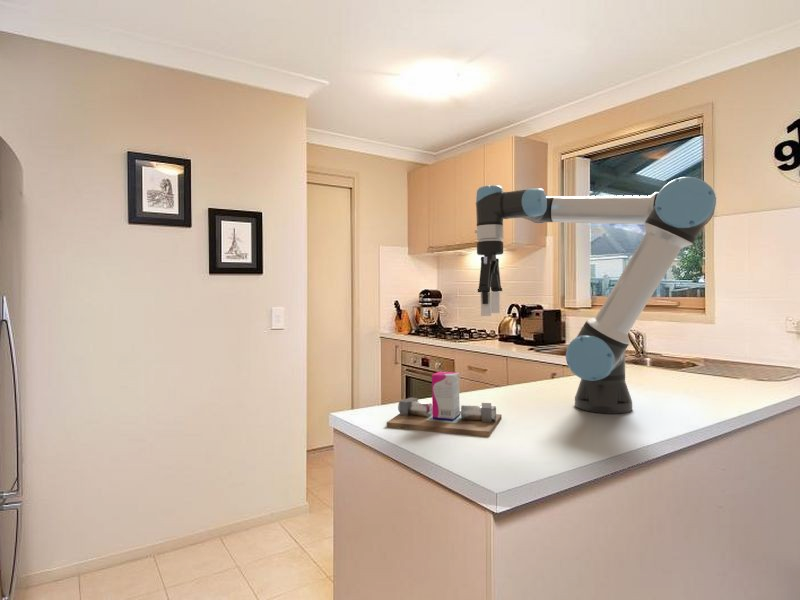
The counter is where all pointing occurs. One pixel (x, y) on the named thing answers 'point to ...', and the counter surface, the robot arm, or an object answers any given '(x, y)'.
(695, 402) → the counter surface
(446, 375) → the supplement box
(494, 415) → the grey collared shaft
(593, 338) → the robot arm
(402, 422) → the board
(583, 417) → the counter surface
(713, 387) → the counter surface
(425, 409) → the shaft
